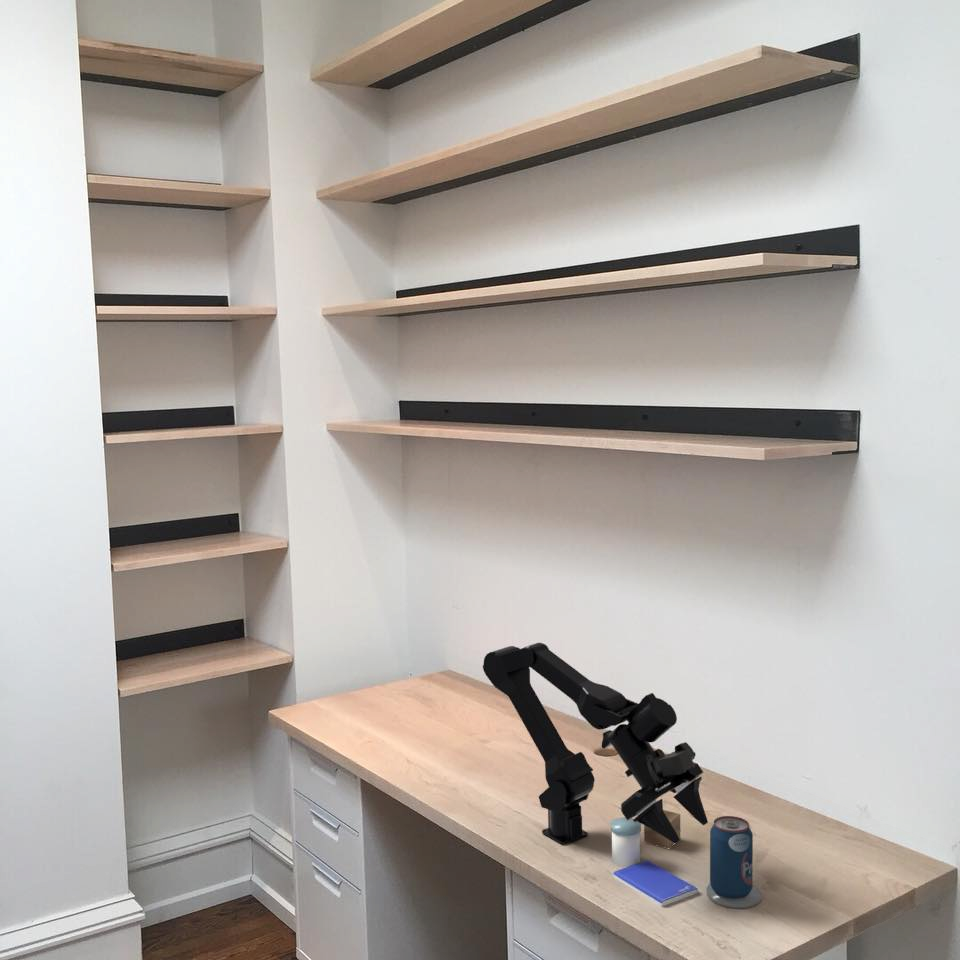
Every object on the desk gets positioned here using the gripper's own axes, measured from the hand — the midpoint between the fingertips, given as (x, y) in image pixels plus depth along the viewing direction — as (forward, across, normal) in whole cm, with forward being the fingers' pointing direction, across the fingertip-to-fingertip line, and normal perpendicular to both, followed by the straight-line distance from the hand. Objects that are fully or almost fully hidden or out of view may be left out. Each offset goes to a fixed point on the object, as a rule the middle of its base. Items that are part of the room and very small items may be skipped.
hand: (692, 832), depth 179 cm
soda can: (+11, 0, 0) cm, 11 cm away
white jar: (-3, -2, +15) cm, 15 cm away
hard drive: (+4, -6, +9) cm, 12 cm away
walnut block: (-2, +10, +15) cm, 18 cm away
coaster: (+12, 0, 0) cm, 12 cm away
